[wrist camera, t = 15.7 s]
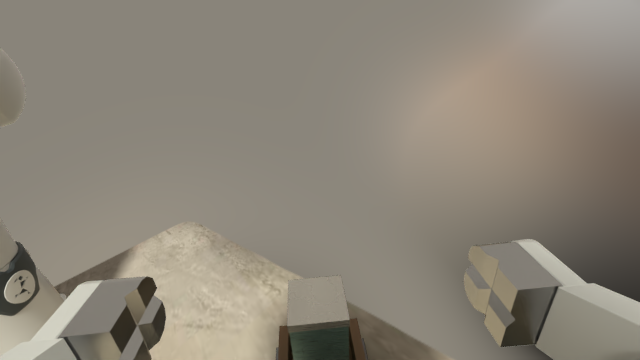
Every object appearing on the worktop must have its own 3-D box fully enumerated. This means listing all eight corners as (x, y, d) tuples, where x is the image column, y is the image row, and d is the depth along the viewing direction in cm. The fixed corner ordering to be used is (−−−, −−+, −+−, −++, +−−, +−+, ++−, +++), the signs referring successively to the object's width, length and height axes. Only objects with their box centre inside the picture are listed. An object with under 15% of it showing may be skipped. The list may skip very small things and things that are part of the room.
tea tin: (299, 410, 30) (287, 326, 25) (298, 360, 35) (288, 280, 30) (351, 404, 31) (349, 319, 25) (343, 355, 35) (341, 275, 30)
